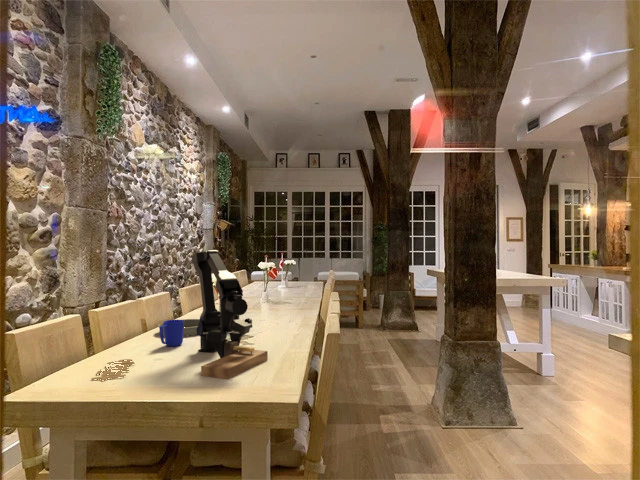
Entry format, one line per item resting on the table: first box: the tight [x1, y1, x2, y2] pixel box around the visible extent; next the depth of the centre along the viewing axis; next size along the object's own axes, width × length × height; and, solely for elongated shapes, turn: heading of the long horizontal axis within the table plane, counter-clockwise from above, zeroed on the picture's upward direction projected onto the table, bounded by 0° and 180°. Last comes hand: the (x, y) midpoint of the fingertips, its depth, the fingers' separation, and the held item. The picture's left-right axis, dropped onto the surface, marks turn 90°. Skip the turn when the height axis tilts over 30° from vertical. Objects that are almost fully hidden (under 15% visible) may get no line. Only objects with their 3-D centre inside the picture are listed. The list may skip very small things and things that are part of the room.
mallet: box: [224, 339, 255, 357], centre depth 164 cm, size 13×4×6 cm, turn 63°
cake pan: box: [157, 318, 200, 337], centre depth 221 cm, size 25×25×4 cm
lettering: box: [91, 358, 135, 381], centre depth 155 cm, size 25×10×1 cm, turn 12°
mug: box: [158, 319, 184, 347], centre depth 190 cm, size 8×12×10 cm
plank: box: [200, 349, 269, 380], centre depth 156 cm, size 10×25×3 cm, turn 157°
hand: (228, 355), depth 166 cm, fingers open, 8 cm apart
